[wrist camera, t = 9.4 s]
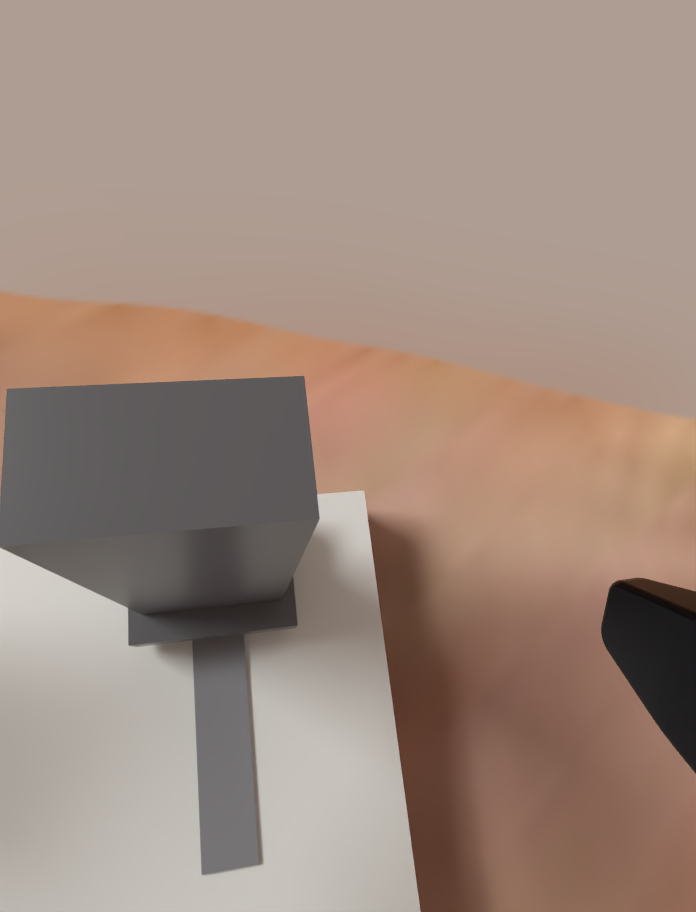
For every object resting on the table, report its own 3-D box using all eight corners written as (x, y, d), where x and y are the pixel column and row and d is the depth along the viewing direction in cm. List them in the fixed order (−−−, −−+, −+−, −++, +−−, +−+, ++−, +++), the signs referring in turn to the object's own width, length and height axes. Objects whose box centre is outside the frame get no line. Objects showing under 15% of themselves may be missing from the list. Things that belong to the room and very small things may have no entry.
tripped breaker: (294, 628, 14) (356, 575, 6) (136, 647, 14) (-44, 617, 5) (284, 513, 15) (325, 327, 7) (135, 526, 15) (-22, 337, 6)
